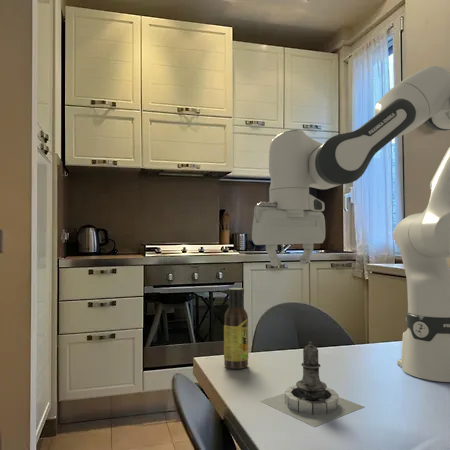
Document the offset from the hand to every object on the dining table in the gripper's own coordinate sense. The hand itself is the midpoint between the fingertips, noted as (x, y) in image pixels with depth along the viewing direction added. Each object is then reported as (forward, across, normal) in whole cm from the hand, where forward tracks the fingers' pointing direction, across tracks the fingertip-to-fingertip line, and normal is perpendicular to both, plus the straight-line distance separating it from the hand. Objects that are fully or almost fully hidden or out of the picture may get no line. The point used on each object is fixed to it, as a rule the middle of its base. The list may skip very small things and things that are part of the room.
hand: (290, 264), depth 91 cm
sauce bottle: (+27, -1, +19) cm, 33 cm away
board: (+27, -6, -10) cm, 29 cm away
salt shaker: (+26, -6, -10) cm, 29 cm away
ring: (+26, -6, -10) cm, 28 cm away
